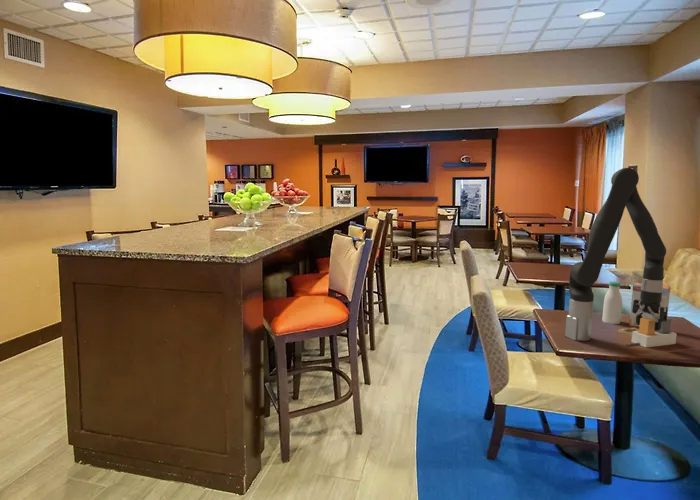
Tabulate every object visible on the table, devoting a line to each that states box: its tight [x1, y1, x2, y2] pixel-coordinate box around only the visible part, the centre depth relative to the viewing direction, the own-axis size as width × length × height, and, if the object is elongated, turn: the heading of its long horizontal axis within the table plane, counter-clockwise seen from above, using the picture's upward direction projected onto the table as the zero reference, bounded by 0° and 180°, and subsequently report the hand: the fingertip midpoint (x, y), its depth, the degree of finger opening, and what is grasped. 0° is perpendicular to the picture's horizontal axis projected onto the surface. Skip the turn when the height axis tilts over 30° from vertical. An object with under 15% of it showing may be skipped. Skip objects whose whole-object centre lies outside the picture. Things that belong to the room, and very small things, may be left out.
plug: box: [638, 318, 656, 336], centre depth 197 cm, size 4×4×10 cm
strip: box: [625, 317, 677, 348], centre depth 197 cm, size 22×7×11 cm, turn 106°
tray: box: [618, 327, 639, 338], centre depth 210 cm, size 9×9×2 cm
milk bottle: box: [601, 281, 623, 325], centre depth 227 cm, size 8×8×20 cm
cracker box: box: [628, 282, 671, 329], centre depth 218 cm, size 14×6×21 cm, turn 47°
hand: (647, 327), depth 196 cm, fingers open, 8 cm apart
